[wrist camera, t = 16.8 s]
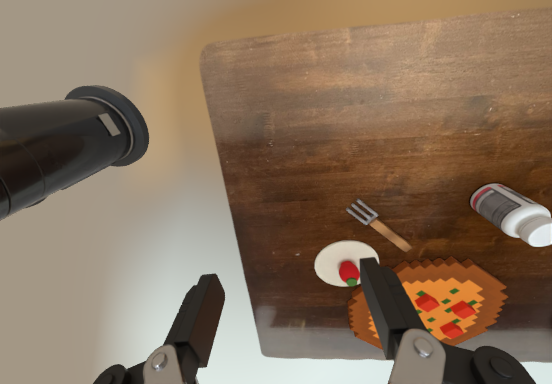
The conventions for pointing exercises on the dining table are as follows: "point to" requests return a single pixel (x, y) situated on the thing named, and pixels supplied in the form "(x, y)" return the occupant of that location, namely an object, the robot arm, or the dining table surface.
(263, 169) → the dining table surface
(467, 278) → the pizza
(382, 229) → the fork
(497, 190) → the pill bottle
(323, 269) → the plate
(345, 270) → the strawberry
